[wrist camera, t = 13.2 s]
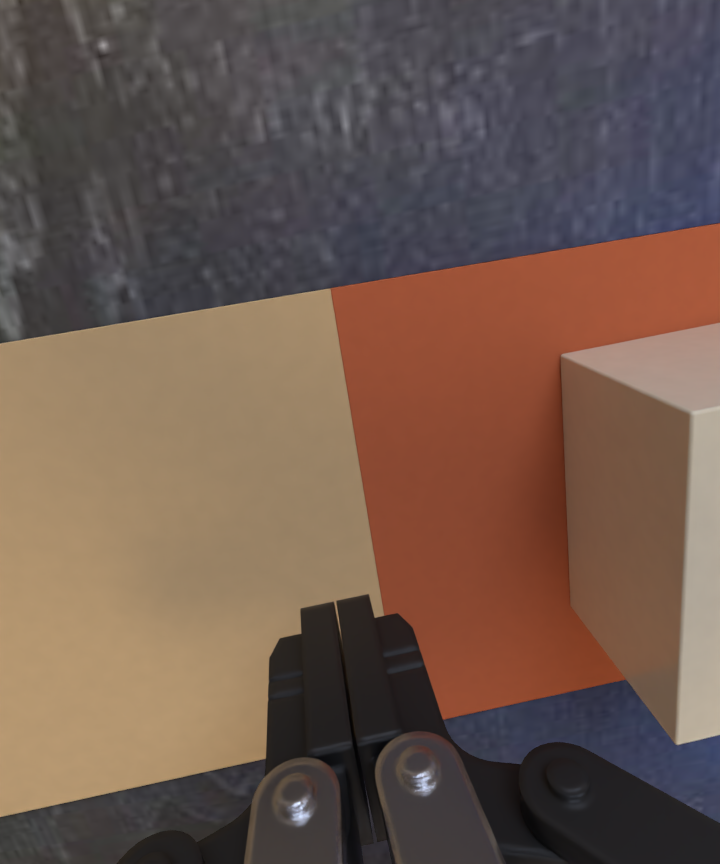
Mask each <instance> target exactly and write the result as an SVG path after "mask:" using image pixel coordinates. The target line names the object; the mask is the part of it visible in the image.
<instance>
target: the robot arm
mask: <svg viewBox="0 0 720 864" xmlns="http://www.w3.org/2000/svg"><path fill="white" fill-rule="evenodd" d="M336 602H337V610H338V616H339V623H340V629H339V624H338V619H337V614H336V609H335V605H334V601H333V602H328V603H324V604H319V605H314V606H309V607H304V608H301V609H300V615H301V634H297V635H292V636H288V637H283V638H280V639H279V640H278V642H277V644H276V646H275V648H274V650H273V652H272V654H271V656H270V658H269V684H268V710H267V741H266V769H265V777H264V779H263V780H262V781H261V783H260V784H259V786H258V788H257V789H256V792H255V794H254V797H253V801H252V803H251V805H250V806H249V807H248V808H247V809H246V810H245V811H244V812H243V814H241V815H240V816H239V817H238V818H237V819H235V820H234V821H233V822H231V823H230V824H228V825H227V826H225V827H223V828H221V829H220V830H218V831H216V832H214V833H213V834H211V835H209V836H208V837H206V838H204V839H202V840H201V841H199V842H197V843H196V841H195V840H194V839H193V838H192V837H191V836H190V835H188V834H186V833H184V832H180V831H163V832H159V833H156V834H153V835H151V836H149V837H147V838H145V839H143V840H142V841H140V842H139V843H137V844H136V845H135V846H134V847H132V848H131V849H130V850H129V851H128V852H127V853H126V854H125V855H124V856H123V857H122V858H121V859H120V860H119V862H118V863H117V864H363V857H362V849H361V846H364V845H368V844H373V843H374V842H373V836H372V829H371V822H370V815H369V809H368V802H367V795H366V790H367V794H368V799H369V804H370V809H371V814H372V818H373V823H374V828H375V833H376V838H377V842H379V841H384V840H387V841H388V846H389V851H390V856H391V861H392V864H720V823H718V822H716V821H714V820H713V819H711V818H709V817H707V816H705V815H704V814H702V813H700V812H698V811H696V810H695V809H693V808H691V807H689V806H687V805H686V804H684V803H682V802H680V801H678V800H677V799H675V798H673V797H671V796H669V795H668V794H666V793H664V792H662V791H660V790H659V789H657V788H655V787H653V786H651V785H650V784H648V783H646V782H644V781H642V780H641V779H639V778H637V777H635V776H633V775H632V774H630V773H628V772H626V771H624V770H623V769H621V768H619V767H617V766H615V765H614V764H612V763H610V762H608V761H606V760H605V759H603V758H601V757H599V756H597V755H596V754H594V753H592V752H590V751H588V750H586V749H584V748H582V747H580V746H577V745H574V744H569V743H563V742H554V743H547V744H544V745H540V746H538V747H536V748H534V749H533V750H532V751H531V752H529V753H528V754H527V756H526V757H525V758H524V760H523V762H522V763H521V764H511V763H500V762H491V761H486V760H482V759H479V758H476V757H474V756H472V755H470V754H468V753H467V752H465V751H464V750H462V749H461V748H460V747H459V746H458V745H457V744H456V743H455V742H454V741H453V740H452V739H451V737H450V735H449V734H448V732H447V730H446V727H445V724H444V721H443V718H442V715H441V712H440V709H439V706H438V703H437V700H436V697H435V694H434V691H433V688H432V685H431V682H430V679H429V676H428V673H427V669H426V666H425V664H424V660H423V657H422V654H421V651H420V649H419V645H418V642H417V639H416V636H415V633H414V630H413V627H412V626H411V625H410V624H409V623H408V622H407V621H406V620H405V619H404V618H402V617H401V616H400V615H399V614H398V613H395V614H390V615H386V616H381V617H376V618H375V617H374V613H373V609H372V605H371V601H370V596H369V594H366V595H361V596H356V597H351V598H347V599H342V600H337V601H336ZM340 630H341V634H340ZM341 637H342V639H341ZM364 780H365V782H364ZM365 785H366V788H365Z"/></svg>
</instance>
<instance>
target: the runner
mask: <svg viewBox="0 0 720 864" xmlns="http://www.w3.org/2000/svg"><path fill="white" fill-rule="evenodd" d="M716 323H720V223H717V224H711V225H705V226H699V227H693V228H687V229H681V230H675V231H669V232H663V233H657V234H651V235H645V236H639V237H633V238H627V239H621V240H615V241H609V242H603V243H597V244H591V245H585V246H579V247H573V248H568V249H562V250H556V251H550V252H544V253H538V254H532V255H526V256H520V257H514V258H508V259H502V260H496V261H490V262H484V263H478V264H472V265H466V266H460V267H454V268H448V269H442V270H436V271H430V272H424V273H418V274H412V275H406V276H400V277H394V278H388V279H383V280H377V281H371V282H365V283H359V284H353V285H347V286H341V287H335V288H330V289H323V290H317V291H311V292H305V293H299V294H293V295H287V296H281V297H275V298H269V299H263V300H257V301H251V302H245V303H239V304H233V305H227V306H221V307H215V308H209V309H203V310H198V311H192V312H186V313H180V314H174V315H168V316H162V317H156V318H150V319H144V320H138V321H132V322H126V323H120V324H114V325H108V326H102V327H96V328H90V329H84V330H78V331H72V332H66V333H60V334H54V335H48V336H42V337H36V338H30V339H24V340H18V341H12V342H7V343H1V344H0V817H2V816H7V815H12V814H16V813H21V812H25V811H30V810H34V809H39V808H43V807H48V806H52V805H57V804H62V803H66V802H71V801H75V800H80V799H84V798H89V797H93V796H98V795H103V794H107V793H112V792H116V791H121V790H125V789H130V788H134V787H139V786H143V785H148V784H153V783H157V782H162V781H166V780H171V779H175V778H180V777H184V776H189V775H193V774H198V773H203V772H207V771H212V770H216V769H221V768H225V767H230V766H234V765H239V764H243V763H248V762H253V761H257V760H262V759H266V741H267V710H268V684H269V658H270V656H271V654H272V652H273V650H274V648H275V646H276V644H277V642H278V640H279V639H280V638H283V637H288V636H292V635H297V634H301V615H300V609H301V608H304V607H309V606H314V605H319V604H324V603H328V602H333V601H334V605H335V609H336V614H337V619H338V624H339V629H340V623H339V616H338V610H337V602H336V601H337V600H342V599H347V598H351V597H356V596H361V595H366V594H369V596H370V601H371V605H372V609H373V613H374V617H375V618H376V617H381V616H386V615H390V614H395V613H398V614H399V615H400V616H401V617H402V618H404V619H405V620H406V621H407V622H408V623H409V624H410V625H411V626H412V627H413V630H414V633H415V636H416V639H417V642H418V645H419V649H420V651H421V654H422V657H423V660H424V664H425V666H426V669H427V673H428V676H429V679H430V682H431V685H432V688H433V691H434V694H435V697H436V700H437V703H438V706H439V709H440V712H441V715H442V718H443V720H444V719H448V718H453V717H457V716H462V715H466V714H471V713H475V712H480V711H485V710H489V709H494V708H498V707H503V706H507V705H512V704H516V703H521V702H525V701H530V700H535V699H539V698H544V697H548V696H553V695H557V694H562V693H566V692H571V691H575V690H580V689H585V688H589V687H594V686H598V685H603V684H607V683H612V682H616V681H621V680H626V679H625V677H624V676H623V675H622V673H621V672H620V671H619V669H618V668H617V667H616V665H615V664H614V663H613V661H612V660H611V659H610V658H609V656H608V655H607V654H606V652H605V651H604V650H603V648H602V647H601V646H600V644H599V643H598V642H597V640H596V639H595V638H594V636H593V635H592V634H591V632H590V631H589V630H588V628H587V627H586V626H585V625H584V623H583V622H582V621H581V619H580V618H579V617H578V615H577V614H576V613H575V611H574V610H573V609H572V607H571V606H570V582H569V558H568V533H567V508H566V484H565V459H564V434H563V410H562V385H561V360H560V356H561V355H562V354H565V353H570V352H575V351H580V350H585V349H590V348H595V347H600V346H605V345H610V344H615V343H620V342H625V341H630V340H635V339H640V338H645V337H650V336H655V335H660V334H665V333H670V332H675V331H681V330H686V329H691V328H696V327H701V326H706V325H711V324H716ZM340 634H341V630H340ZM341 639H342V637H341Z"/></svg>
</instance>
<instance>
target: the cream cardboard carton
mask: <svg viewBox="0 0 720 864" xmlns="http://www.w3.org/2000/svg"><path fill="white" fill-rule="evenodd" d="M560 360H561V385H562V410H563V434H564V459H565V484H566V508H567V533H568V558H569V582H570V606H571V607H572V609H573V610H574V611H575V613H576V614H577V615H578V617H579V618H580V619H581V621H582V622H583V623H584V625H585V626H586V627H587V628H588V630H589V631H590V632H591V634H592V635H593V636H594V638H595V639H596V640H597V642H598V643H599V644H600V646H601V647H602V648H603V650H604V651H605V652H606V654H607V655H608V656H609V658H610V659H611V660H612V661H613V663H614V664H615V665H616V667H617V668H618V669H619V671H620V672H621V673H622V675H623V676H624V677H625V679H626V680H627V681H628V683H629V684H630V685H631V687H632V688H633V689H634V690H635V692H636V693H637V694H638V696H639V697H640V698H641V700H642V701H643V702H644V704H645V705H646V706H647V708H648V709H649V710H650V712H651V713H652V714H653V716H654V717H655V718H656V719H657V721H658V722H659V723H660V725H661V726H662V727H663V729H664V730H665V731H666V733H667V734H668V735H669V737H670V738H671V739H672V741H673V742H674V743H675V744H676V745H681V744H685V743H689V742H693V741H697V740H701V739H705V738H710V737H714V736H718V735H720V323H716V324H711V325H706V326H701V327H696V328H691V329H686V330H681V331H675V332H670V333H665V334H660V335H655V336H650V337H645V338H640V339H635V340H630V341H625V342H620V343H615V344H610V345H605V346H600V347H595V348H590V349H585V350H580V351H575V352H570V353H565V354H562V355H561V356H560Z"/></svg>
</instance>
